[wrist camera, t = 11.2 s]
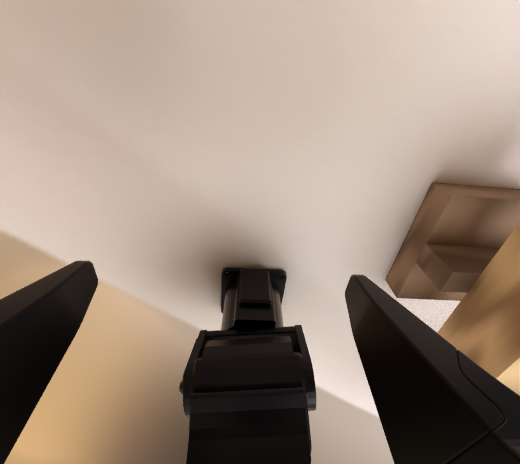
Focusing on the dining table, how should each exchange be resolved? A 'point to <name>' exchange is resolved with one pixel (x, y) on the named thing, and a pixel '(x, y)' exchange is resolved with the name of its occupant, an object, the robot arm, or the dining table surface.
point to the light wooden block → (492, 317)
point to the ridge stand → (453, 240)
